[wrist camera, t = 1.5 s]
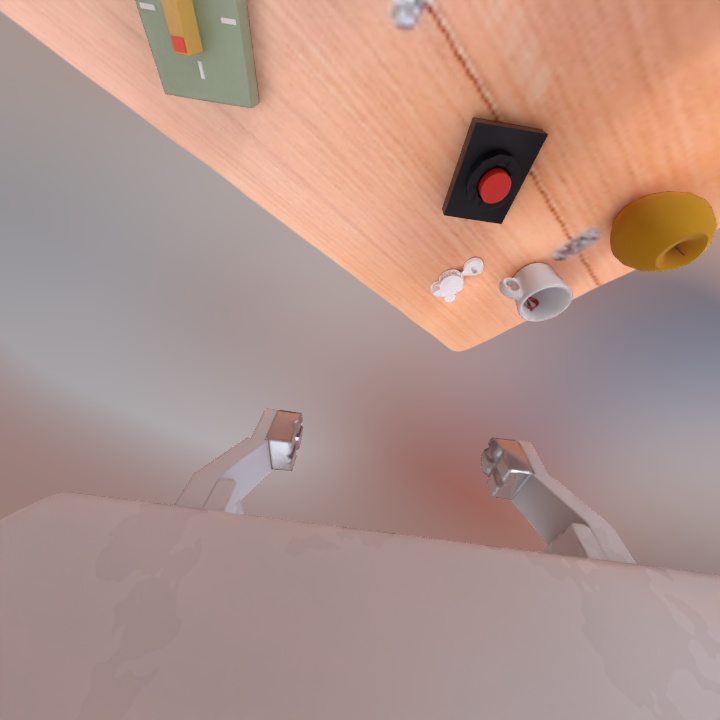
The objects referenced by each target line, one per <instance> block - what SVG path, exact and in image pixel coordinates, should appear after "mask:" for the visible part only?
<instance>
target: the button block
mask: <svg viewBox="0 0 720 720" xmlns="http://www.w3.org/2000/svg"><path fill="white" fill-rule="evenodd" d="M547 135H548V134H547V133H546V132H544V131H543V130H542V129H537V128H531V127H525V126H520V125H514V124H508V123H502V122H496V121H490V120H484V119H479V118H472V121H471V124H470V127H469V130H468V133H467V136H466V139H465V142H464V145H463V148H462V151H461V154H460V157H459V160H458V163H457V166H456V169H455V172H454V175H453V178H452V181H451V184H450V187H449V190H448V193H447V196H446V199H445V202H444V205H443V208H442V210H443V214H444V215H446V216H452V217H459V218H466V219H472V220H479V221H486V222H492V223H499V224H502V222H503V220H504V218H505V216H506V214H507V212H508V210H509V209H510V207H511V205H512V203H513V201H514V199H515V197H516V195H517V193H518V191H519V189H520V187H521V185H522V184H523V182H524V180H525V178H526V176H527V174H528V172H529V170H530V168H531V166H532V164H533V162H534V160H535V158H536V157H537V155H538V153H539V151H540V149H541V147H542V145H543V143H544V141H545V139H546V137H547ZM494 168H501V169H503V170H505V171H506V173H507V174H508V176H509V177H510V179H511V187H510V190H509V192H508V194H507V195H506V196H505V197H504V198H503V199H502V200H500V201H499V202H496V203H486V202H485V201H484V200H483V199H482V197H481V195H480V193H479V190H478V187H479V182H480V180H481V178H482V177H483V176H484V174H485V173H487V172H488V171H490V170H492V169H494Z"/></svg>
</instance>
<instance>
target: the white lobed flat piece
mask: <svg viewBox="0 0 720 720" xmlns="http://www.w3.org/2000/svg"><path fill="white" fill-rule="evenodd" d="M463 269H464V270H463V271H462V272H459V271H458V270H454V269H451V270H447V271H445V272H443V273H442V274H441V275H440V277H439V279H438V280H439V281H436V282H434V283H432V285H431V290H432V292H433V293H434V296H436V297H440V296H443V297H444V298H445V301H446V302H452V301H454V300H455V298H456V296H455V295H456V293H458V292H459V291H460V290H461V289H462V288H463V286H464V280H463V279H464V277H463V276H465V275H468V276H475V275H477V274H479V273H480V272H481V271H482V270H483V262H482V260H481V259H480V258H471V259H469V260H467V261H466V262H465V264H464V266H463ZM425 297H426V296H425Z"/></svg>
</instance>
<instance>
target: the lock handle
mask: <svg viewBox="0 0 720 720" xmlns="http://www.w3.org/2000/svg"><path fill="white" fill-rule="evenodd" d="M161 4H162V7H163V11H164V15H165V18H166V22H167V25H168V29H169V33H170V36H171V40H172V44H173V47H174V51H175V54H179V55H185V56H192V55H195V54H199V53H202V52H203V47H202V43H201V38H200V34H199V29H198V25H197V20H196V16H195V11H194V6H193V2H192V0H161Z"/></svg>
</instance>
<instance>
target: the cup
mask: <svg viewBox="0 0 720 720" xmlns="http://www.w3.org/2000/svg"><path fill="white" fill-rule="evenodd" d="M507 285H509V286H511V287H512V288H513V290H511V289H509V288H508V287H507ZM499 288H500V291H501V293H502V294H503V295H504V296H506V297H508V298H511V299H515V301H516V305H517V309H518V313H519V315H520V316H521V317H522V318H523V319H525V320H528V321H542V320H546V319H550V318H552V317H554V316H556V315H558V314H560V313H561V312H562V311H564V310H565V309H566V308H567V307H568V306H569V304H570V303H571V301H572V297H573V293H572V290H571V289H570V287H569V286H568V285H567V284H566V283H565V282H564V281H563V280H562V278H561V277H560V276H559V275H558V274H557V273H556V272H555V271H554V269H553V268H551V267H550V266H549V265H547V264H544V263H533V264H530V265H527V266H525V267H524V268H522V269H521V270H519V271H518V272H517V274H516V275H515V276H514V278H504V279H502V281H501V282H500V284H499Z"/></svg>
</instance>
